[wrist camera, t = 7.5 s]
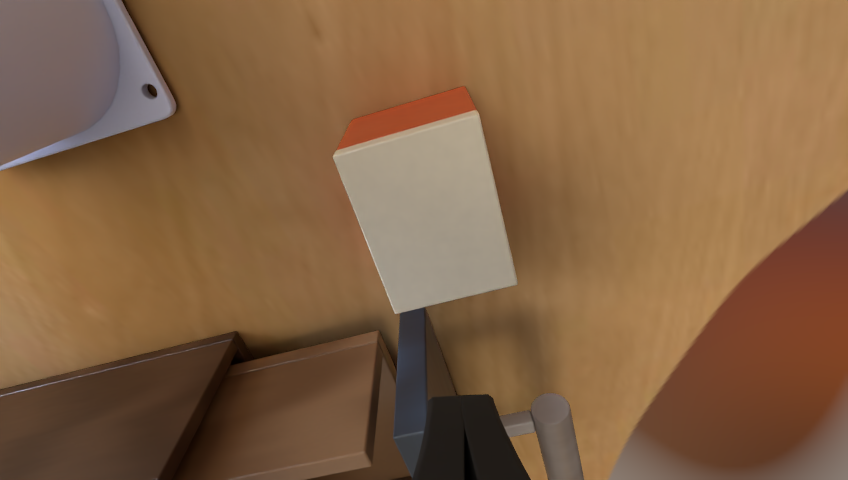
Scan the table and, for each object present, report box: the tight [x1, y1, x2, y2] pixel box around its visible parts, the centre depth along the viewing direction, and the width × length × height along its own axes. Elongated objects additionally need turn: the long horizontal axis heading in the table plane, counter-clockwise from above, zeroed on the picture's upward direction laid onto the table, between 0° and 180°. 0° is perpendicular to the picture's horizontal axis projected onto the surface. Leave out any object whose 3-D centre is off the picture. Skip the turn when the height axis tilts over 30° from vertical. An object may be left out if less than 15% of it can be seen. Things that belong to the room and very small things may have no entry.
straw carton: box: [333, 86, 518, 314], centre depth 16 cm, size 6×4×4 cm
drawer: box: [172, 307, 584, 480], centre depth 21 cm, size 18×11×7 cm, turn 106°
